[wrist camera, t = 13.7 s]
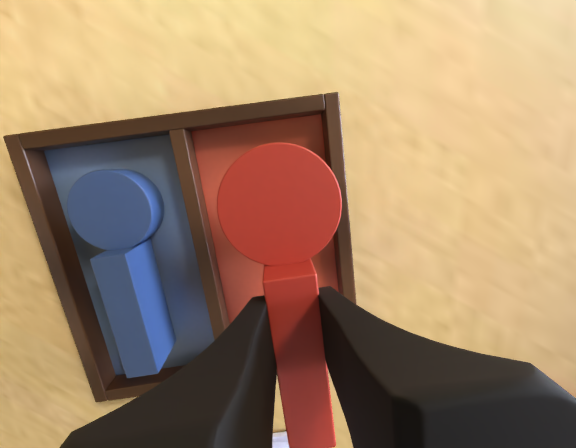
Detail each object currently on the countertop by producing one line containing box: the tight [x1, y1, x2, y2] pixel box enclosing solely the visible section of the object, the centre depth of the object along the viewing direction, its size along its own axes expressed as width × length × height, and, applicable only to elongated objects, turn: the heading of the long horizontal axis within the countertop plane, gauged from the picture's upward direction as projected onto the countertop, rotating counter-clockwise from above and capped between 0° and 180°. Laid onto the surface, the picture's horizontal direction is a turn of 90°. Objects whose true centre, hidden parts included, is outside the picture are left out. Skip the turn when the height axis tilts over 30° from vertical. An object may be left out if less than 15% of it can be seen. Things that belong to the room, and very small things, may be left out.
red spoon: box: [217, 142, 342, 448], centre depth 11 cm, size 12×4×3 cm, turn 7°
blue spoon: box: [67, 169, 176, 378], centre depth 16 cm, size 12×4×3 cm, turn 8°
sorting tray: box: [3, 92, 356, 402], centre depth 17 cm, size 17×17×2 cm
